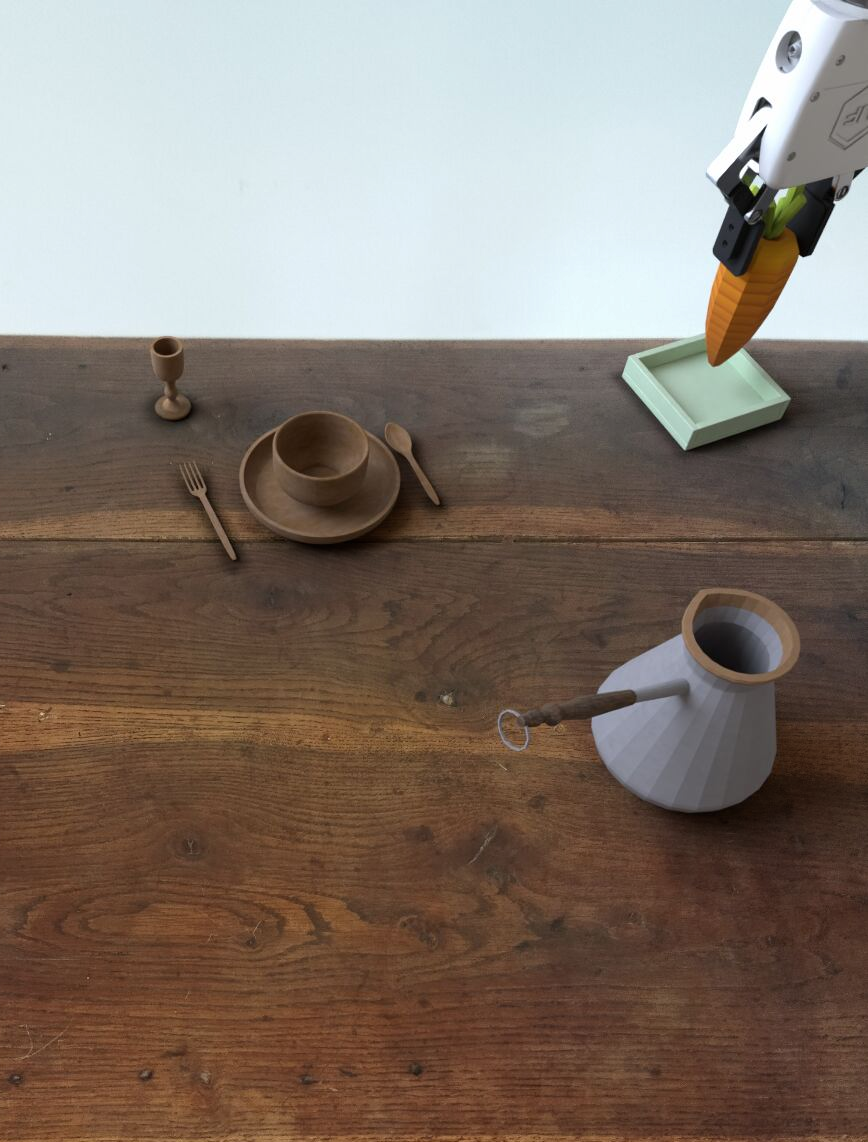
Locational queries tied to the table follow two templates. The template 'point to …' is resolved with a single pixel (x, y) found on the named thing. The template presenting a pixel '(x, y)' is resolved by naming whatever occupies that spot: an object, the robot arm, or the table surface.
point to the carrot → (753, 282)
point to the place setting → (303, 468)
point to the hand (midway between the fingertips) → (761, 252)
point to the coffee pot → (692, 705)
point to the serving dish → (703, 391)
